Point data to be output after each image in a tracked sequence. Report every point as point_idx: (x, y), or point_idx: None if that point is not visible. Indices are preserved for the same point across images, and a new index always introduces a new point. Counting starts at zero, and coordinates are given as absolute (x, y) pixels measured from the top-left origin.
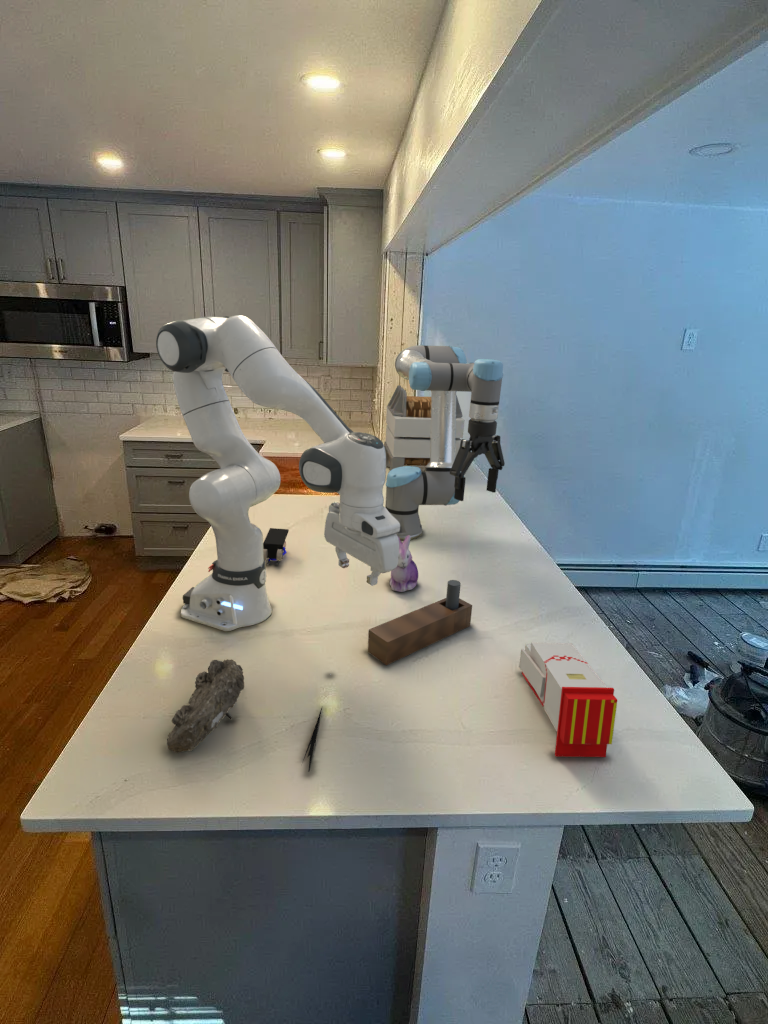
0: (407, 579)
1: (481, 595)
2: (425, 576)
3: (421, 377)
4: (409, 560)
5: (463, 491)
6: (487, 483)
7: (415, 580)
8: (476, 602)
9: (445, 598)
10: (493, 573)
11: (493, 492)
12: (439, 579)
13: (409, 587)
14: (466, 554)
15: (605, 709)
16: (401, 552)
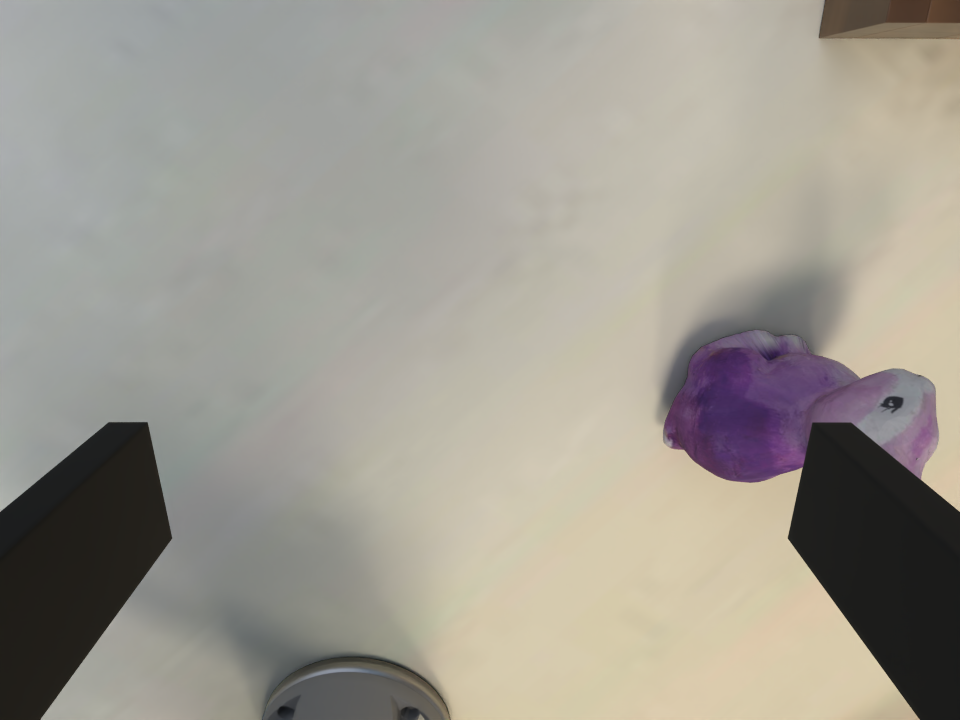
0: (804, 353)
1: (534, 88)
2: (594, 386)
3: None
4: (871, 387)
5: (920, 501)
6: (119, 604)
7: (737, 347)
8: (615, 51)
9: (955, 17)
10: (292, 219)
11: (147, 428)
12: (567, 330)
13: (767, 336)
14: (256, 436)
15: None
16: (931, 437)
